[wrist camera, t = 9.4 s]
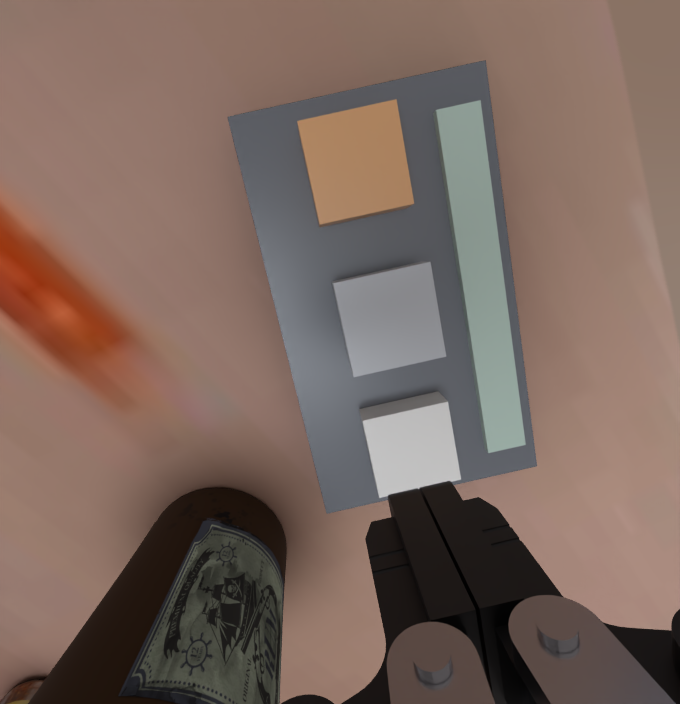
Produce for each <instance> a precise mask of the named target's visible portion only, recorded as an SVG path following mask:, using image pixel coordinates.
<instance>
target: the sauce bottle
mask: <svg viewBox="0 0 680 704" xmlns="http://www.w3.org/2000/svg"><path fill="white" fill-rule="evenodd" d="M43 682H44V680H31V681H28V682H24V683H22V684H20V685H17V686H16V687H15V688H14V689H12V690H11V691H9V692H8V693H7V695H6V696H5V697H4V698H3V699H2V700H1V701H0V704H28V703H29V701H30V700H31V698H32V697H33V696H34V694H35V693H36V692H37V690H38V689H39V687H40V686H41V685H42V683H43Z"/></svg>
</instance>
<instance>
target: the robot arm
mask: <svg viewBox="0 0 680 704" xmlns="http://www.w3.org/2000/svg"><path fill="white" fill-rule="evenodd" d="M388 501H389V506H390V511H391V516H392V517H391V518H386V519H382V520H378V521H373V522H371V524H370V527H369V530H368V533H367V536H366V544H367V549H368V554H369V559H370V564H371V569H372V574H373V579H374V584H375V588H376V593H377V598H378V603H379V608H380V613H381V618H382V623H383V628H384V633H385V638H386V653H385V657H384V661H383V663H382V666H381V668H380V670H379V672H378V673H377V675H376V676H375V677H374V679H373V680H372V681H371V682H370V683H369V684H368V685H367V686H366V687H365V688H364V689H363V690H361V691H360V692H359V693H357V694H356V695H354V696H353V697H351V698H349V699H348V700H346V701H345V702H343V703H342V704H680V609H679V610H678V611H677V612H676V613H675V615H674V617H673V619H672V631H669V630H653V629H638V628H626V627H618V626H614V625H609V624H606V623H603V622H602V621H601V620H600V619H599V618H598V617H597V616H596V615H595V614H594V613H593V612H591V611H590V610H589V609H587V608H586V607H584V606H583V605H581V604H579V603H577V602H575V601H573V600H570V599H567V598H564V597H563V596H562V595H561V594H560V592H559V591H558V589H557V588H556V587H555V585H554V584H553V583H552V581H551V580H550V579H549V577H548V576H547V575H546V573H545V572H544V571H543V569H542V568H541V567H540V565H539V564H538V563H537V561H536V560H535V559H534V557H533V556H532V555H531V553H530V552H529V550H528V549H527V548H526V546H525V545H524V544H523V542H522V541H520V540H519V537H518V536H517V534H516V533H515V532H514V530H513V529H512V528H511V527H510V526H509V524H508V522H507V521H506V520H505V518H504V517H503V516H502V514H501V513H500V511H499V510H498V509H497V508H496V507H494V506H492V505H491V504H489V503H487V502H486V501H484V500H482V499H481V498H479V497H477V498H473V499H469V500H464V501H463V500H462V498H461V497H460V495H459V493H458V492H457V490H456V489H455V487H454V485H453V484H452V482H451V481H446V482H441V483H437V484H433V485H428V486H424V487H420V488H419V489H418V488H416V489H411V490H407V491H402V492H398V493H394V494H389V495H388ZM281 704H334V703H333V702H331V701H330V700H328V699H326V698H324V697H321V696H317V695H301V696H296V697H294V698H291V699H289V700H287V701H285V702H283V703H281Z"/></svg>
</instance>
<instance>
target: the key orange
mask: <svg viewBox="0 0 680 704" xmlns="http://www.w3.org/2000/svg"><path fill="white" fill-rule="evenodd" d="M297 123H298V131H299V136H300V141H301V145H302V150H303V154H304V159H305V163H306V168H307V173H308V177H309V182H310V186H311V191H312V195H313V200H314V205H315V209H316V214H317V218H318V223H319V227H325V226H329V225H334V224H338V223H343V222H347V221H352V220H356V219H361V218H365V217H370V216H374V215H379V214H383V213H388V212H392V211H397V210H401V209H406V208H408V207H410V206H411V205H413V204H414V199H413V193H412V187H411V181H410V176H409V170H408V164H407V158H406V152H405V146H404V140H403V134H402V128H401V123H400V117H399V111H398V105H397V99H395V100H390V101H386V102H381V103H377V104H372V105H368V106H363V107H358V108H354V109H349V110H345V111H340V112H336V113H331V114H327V115H322V116H318V117H313V118H308V119H304V120H299V121H297Z"/></svg>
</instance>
